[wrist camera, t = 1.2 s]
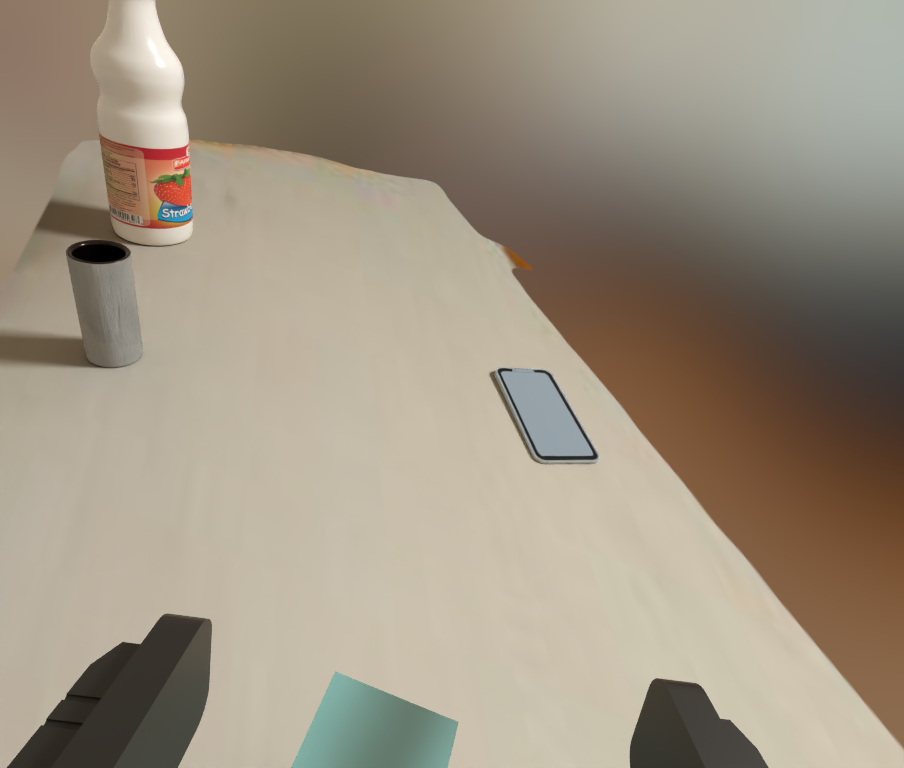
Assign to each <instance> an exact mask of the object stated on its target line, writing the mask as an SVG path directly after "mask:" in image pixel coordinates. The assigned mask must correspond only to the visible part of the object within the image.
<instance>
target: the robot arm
mask: <svg viewBox="0 0 904 768" xmlns="http://www.w3.org/2000/svg"><path fill="white" fill-rule="evenodd" d="M211 635H212V624H211V620H210V619H205V618H198V617H190V616H182V615H174V614H165V615H163V616H162V617H161V618H160V619H159V620H158V621H157V623H156V624H155V626H154V627H153V628H152V630H151V631H150V632H149V634H148V635H147V636H146V638H145V639H144V641H143V642H142V643H141V644H134V643H126V642H122V643H121V644H119V645H118V646H116V647H115V648H113V649H112V650H111V651H109V652H108V653H106V654H105V655H103V656H102V657H101V658H99V659H98V660H96V661H95V662H94V663H92V664H91V665H90V666H89V667H88V668H87V669H86V671H85V672H84V673H83V674H82V676H81V677H80V678H79V679H78V681H77V682H76V683H75V684H74V685H73V687H72V688H71V689H70V690H69V692H68V693H67V695H66V698H65V700H61V702H60V703H59V704H58V705H57V706H56V708H55V709H54V710H53V711H52V713H51V714H50V715H49V716H48V718H47V719H46V723H45V724H44V726H42V725H41V726H40V727H39V729H38V730H37V731H36V732H35V734H34V735H33V736H32V737H31V739H30V740H29V741H28V742H27V744H26V745H25V746H24V747H23V748H22V750H21V751H20V752H19V753H18V755H17V756H16V757H15V758H14V760H13V761H12V762H11V763H10V764H9V766H8V767H7V768H178V766H179V764H180V762H181V760H182V758H183V756H184V754H185V752H186V750H187V748H188V746H189V744H190V742H191V740H192V738H193V736H194V734H195V732H196V730H197V727H198V725H199V723H200V720H201V717H202V715H203V712H204V708H205V705H206V701H207V696H208V691H209V677H210V656H211ZM630 767H631V768H768V766H767V764H766V763H765V761H764V759H763V758H762V756H761V754H760V753H759V751H758V749H757V748H756V747H755V746H754V745H753V744H752V743H751V742H750V741H749V740H748V739H747V738H746V736H745V735H744V734H743V733H742V732H741V731H740V730H739V729H738V728H737V727H736V726H735V725H734V724H733V723H732V722H731V721H730V720H725V719H720V718H719V716H718V714H717V712H716V710H715V709H714V707H713V705H712V703H711V701H710V700H709V698H708V696H707V694H706V692H705V691H704V689H703V688H702V687H701V686H700V685H699V684H696V683H690V682H682V681H674V680H666V679H658V678H656V679H654V680H653V681H652V682H651V684H650V686H649V689H648V692H647V695H646V698H645V701H644V704H643V707H642V710H641V713H640V716H639V719H638V722H637V725H636V728H635V731H634V734H633V737H632V740H631V745H630Z"/></svg>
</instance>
